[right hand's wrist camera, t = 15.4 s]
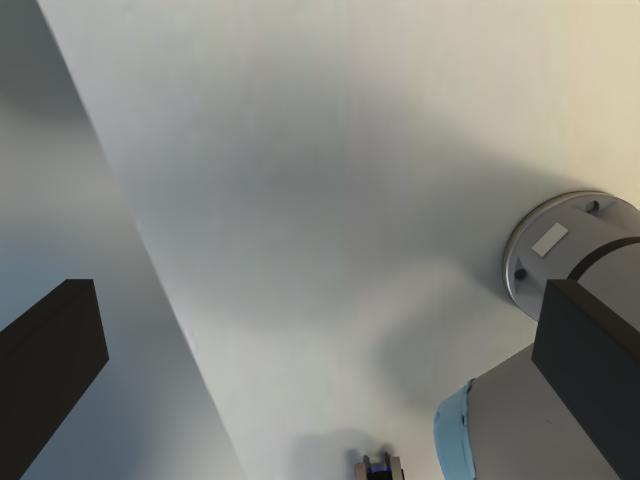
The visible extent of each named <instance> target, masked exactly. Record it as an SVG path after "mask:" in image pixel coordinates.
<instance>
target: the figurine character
mask: <svg viewBox="0 0 640 480" xmlns="http://www.w3.org/2000/svg"><path fill="white" fill-rule="evenodd" d="M384 456H385V461H386V466H387V470H386V471H384V470H381V471H376V472H372V471H371V466H370V461H369V457H367V456H365V458H364V459H363V461H364V463H359V464H355V478H356V480H405V479H404V473H403V469H401V465H400V459H399V457H390V455H389V454H388V453H386V454H385V455H384Z"/></svg>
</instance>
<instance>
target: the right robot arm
mask: <svg viewBox="0 0 640 480" xmlns="http://www.w3.org/2000/svg"><path fill="white" fill-rule="evenodd" d="M502 275H503V281H504V284H505V287H506V290H507V292H508V294H509V295H510V297H511V298H512V299H513V301H514V302H515V303H516V304H517V305H518V306H519V308H520V309H521V310H522V311H523V312H524V313H526V314H527V315H528V316H530V317H531V318H533V319H534V320H536V321H538V326H537V331H536V336H535V341H534V343H532V344H531V345H529V346H528V347H526V348H525V349H523V350H521V351H520V352H518V353H517V354H515V355H513V356H512V357H510V358H509V359H507V360H506V361H504V362H502V363H501V364H499V365H498V366H496V367H494V368H493V369H491V370H489V371H488V372H486V373H485V374H483V375H481V376H480V377H478V378H473V379H471V380H469V381H468V382H467V383H466V385H465V386H464V387H463V388H462V389H460V390H459V391H458V392H456V393H455V394H453V395H452V396H451V397H449V398H448V399H446V400H445V401H444V402H443V403H441V405H440V406H439V407H438V409H437V411H436V414H435V419H434V440H435V446H436V450H437V455H438V458H439V462H440V465H441V468H442V471H443V474H444V477H445V480H640V211H639V210H638V209H636V208H635V207H634V206H632V205H631V204H629V203H628V202H626V201H624V200H621V199H619V198H617V197H614V196H612V195H609V194H605V193H601V192H594V191H582V192H574V193H569V194H565V195H562V196H559V197H556V198H554V199H552V200H550V201H548V202H546V203H544V204H542V205H541V206H539V207H538V208H536V209H535V210H534V211H532V212H531V213H530V214H529V215H528V216H527V217H526V218H525V219H524V220H523V221H522V222H521V223H520V224H519V225H518V227H517V228H516V229H515V231H514V232H513V234H512V236H511V237H510V239H509V241H508V244H507V246H506V249H505V252H504V256H503V262H502ZM108 360H109V356H108V351H107V346H106V341H105V336H104V332H103V327H102V322H101V317H100V312H99V307H98V302H97V297H96V292H95V287H94V282H93V279H66V280H65V281H64V282H62V283H61V284H60V285H59V286H57V287H56V288H55V289H54V290H52V291H51V292H50V293H49V294H47V295H46V296H45V297H44V298H42V299H41V300H40V301H39V302H37V303H36V304H35V305H34V306H32V307H31V308H30V309H29V310H27V311H26V312H25V313H24V314H22V315H21V316H20V317H19V318H17V319H16V320H15V321H14V322H12V323H11V324H10V325H8V326H7V327H6V328H5V329H3V330H2V331H1V332H0V480H19V479H20V478H21V477H22V475H23V474H24V473H25V471H26V470H27V469H28V467H29V466H30V465H31V463H32V462H33V461H34V459H35V458H36V457H37V455H38V454H39V453H40V451H41V450H42V449H43V447H44V446H45V445H46V443H47V442H48V441H49V439H50V438H51V437H52V435H53V434H54V433H55V431H56V430H57V429H58V427H59V426H60V425H61V423H62V422H63V420H64V419H65V418H66V416H67V415H68V414H69V413H70V411H71V410H72V408H73V407H74V406H75V404H76V403H77V402H78V400H79V399H80V398H81V396H82V395H83V394H84V392H85V391H86V390H87V388H88V387H89V386H90V384H91V383H92V382H93V380H94V379H95V378H96V376H97V375H98V374H99V372H100V371H101V370H102V368H103V367H104V366H105V364H106V363H107V362H108Z"/></svg>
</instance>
